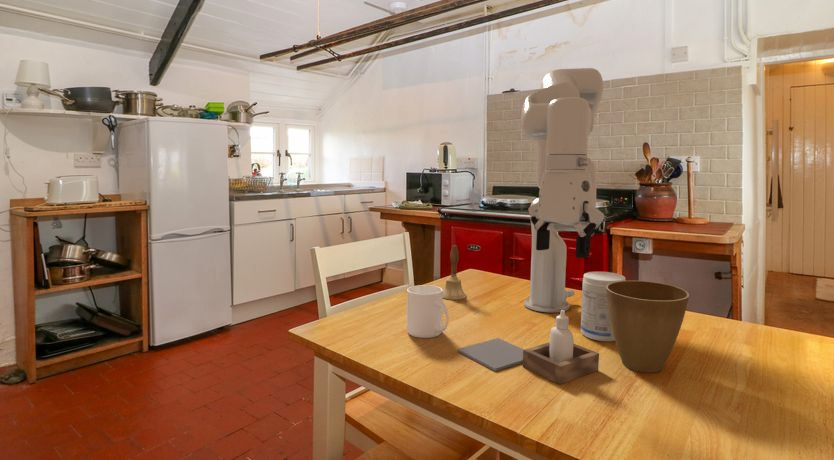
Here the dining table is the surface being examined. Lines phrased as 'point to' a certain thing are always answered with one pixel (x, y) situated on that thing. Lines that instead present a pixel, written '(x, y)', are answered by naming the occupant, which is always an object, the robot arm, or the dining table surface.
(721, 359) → the dining table surface
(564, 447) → the dining table surface
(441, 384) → the dining table surface
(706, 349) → the dining table surface
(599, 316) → the supplement tub
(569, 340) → the eye dropper bottle
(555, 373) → the box
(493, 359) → the coaster
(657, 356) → the plant pot
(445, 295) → the hand bell
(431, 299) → the mug
